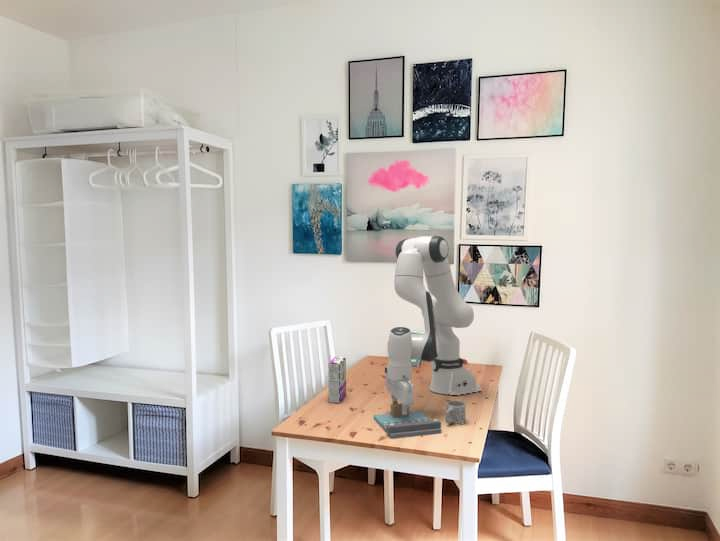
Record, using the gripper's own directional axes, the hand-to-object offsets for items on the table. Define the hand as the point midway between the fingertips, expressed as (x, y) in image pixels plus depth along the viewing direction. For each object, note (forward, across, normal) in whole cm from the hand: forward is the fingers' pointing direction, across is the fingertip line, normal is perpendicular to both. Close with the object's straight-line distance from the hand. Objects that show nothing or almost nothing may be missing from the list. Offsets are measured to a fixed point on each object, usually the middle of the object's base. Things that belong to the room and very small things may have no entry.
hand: (399, 409), depth 195 cm
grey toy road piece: (+3, -11, 0) cm, 12 cm away
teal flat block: (+3, -2, 0) cm, 4 cm away
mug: (+4, -8, -18) cm, 20 cm away
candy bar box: (+4, +29, +16) cm, 33 cm away
